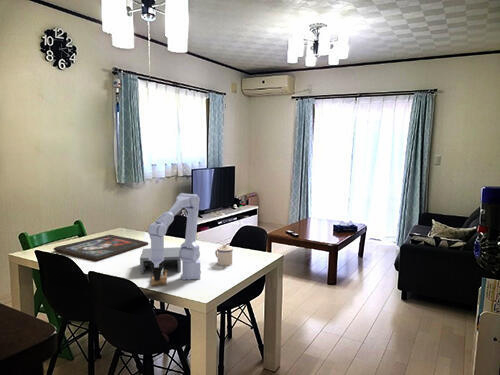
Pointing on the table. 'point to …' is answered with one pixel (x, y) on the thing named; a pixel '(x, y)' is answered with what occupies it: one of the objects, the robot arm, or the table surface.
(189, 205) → the robot arm
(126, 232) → the table surface
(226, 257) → the teacup with lid
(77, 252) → the religious icon
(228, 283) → the table surface
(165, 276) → the teak tray
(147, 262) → the grey low stand
